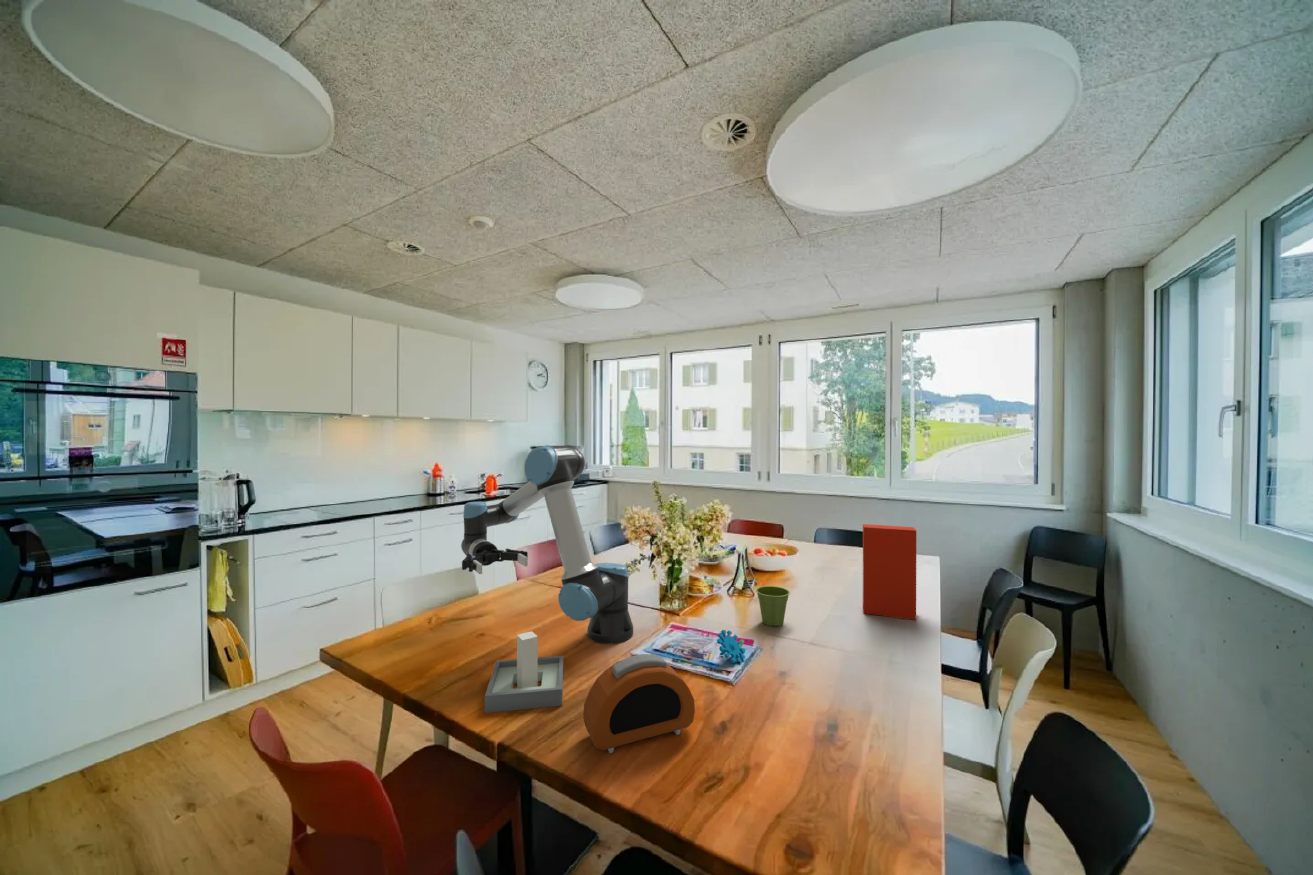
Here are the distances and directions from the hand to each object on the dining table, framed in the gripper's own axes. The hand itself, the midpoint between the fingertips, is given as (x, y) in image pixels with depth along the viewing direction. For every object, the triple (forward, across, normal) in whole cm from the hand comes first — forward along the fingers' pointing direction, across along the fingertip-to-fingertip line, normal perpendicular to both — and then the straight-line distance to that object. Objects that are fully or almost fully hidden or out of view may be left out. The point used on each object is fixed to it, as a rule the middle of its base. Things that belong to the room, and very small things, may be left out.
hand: (504, 565), depth 143 cm
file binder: (+48, -127, -28) cm, 139 cm away
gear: (+40, -54, -28) cm, 73 cm away
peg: (+22, +2, -27) cm, 35 cm away
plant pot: (+29, -85, -28) cm, 94 cm away
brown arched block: (+54, -12, -28) cm, 62 cm away
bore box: (+22, +2, -27) cm, 35 cm away
